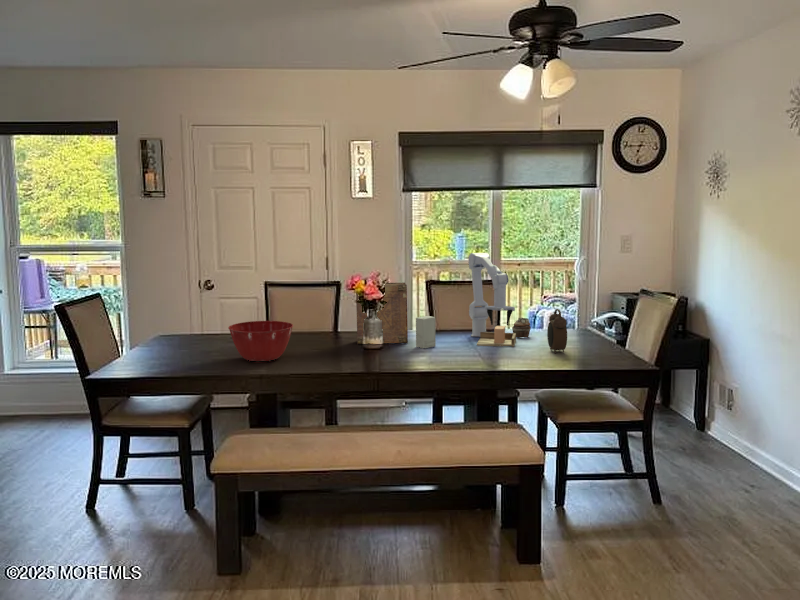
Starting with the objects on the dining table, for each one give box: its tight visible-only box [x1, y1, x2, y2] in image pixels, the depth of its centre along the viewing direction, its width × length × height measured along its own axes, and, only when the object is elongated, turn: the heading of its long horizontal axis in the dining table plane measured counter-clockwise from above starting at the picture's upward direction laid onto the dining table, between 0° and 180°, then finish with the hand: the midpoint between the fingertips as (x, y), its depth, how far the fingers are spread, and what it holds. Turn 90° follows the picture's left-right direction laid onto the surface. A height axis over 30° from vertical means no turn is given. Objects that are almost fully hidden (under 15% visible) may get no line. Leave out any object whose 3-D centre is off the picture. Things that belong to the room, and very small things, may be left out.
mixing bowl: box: [228, 320, 294, 362], centre depth 290 cm, size 28×28×15 cm
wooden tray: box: [476, 331, 517, 348], centre depth 322 cm, size 16×18×4 cm
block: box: [493, 325, 506, 343], centre depth 320 cm, size 4×9×7 cm, turn 166°
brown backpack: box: [547, 308, 568, 354], centre depth 298 cm, size 14×7×20 cm, turn 1°
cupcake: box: [511, 317, 532, 338], centre depth 338 cm, size 10×10×10 cm
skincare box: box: [415, 315, 437, 349], centre depth 313 cm, size 8×6×15 cm
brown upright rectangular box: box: [355, 282, 409, 345], centre depth 325 cm, size 25×9×30 cm, turn 94°
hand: (499, 324), depth 320 cm, fingers open, 7 cm apart
